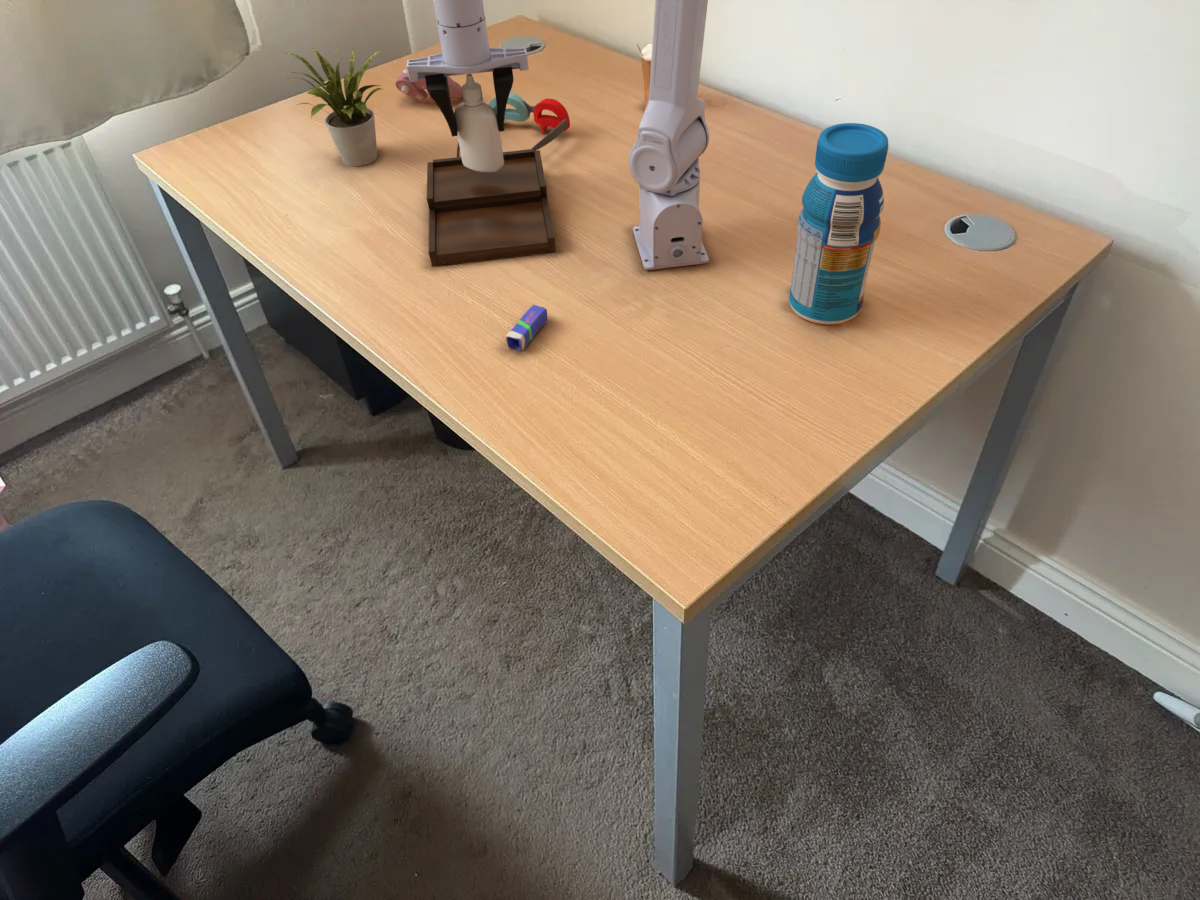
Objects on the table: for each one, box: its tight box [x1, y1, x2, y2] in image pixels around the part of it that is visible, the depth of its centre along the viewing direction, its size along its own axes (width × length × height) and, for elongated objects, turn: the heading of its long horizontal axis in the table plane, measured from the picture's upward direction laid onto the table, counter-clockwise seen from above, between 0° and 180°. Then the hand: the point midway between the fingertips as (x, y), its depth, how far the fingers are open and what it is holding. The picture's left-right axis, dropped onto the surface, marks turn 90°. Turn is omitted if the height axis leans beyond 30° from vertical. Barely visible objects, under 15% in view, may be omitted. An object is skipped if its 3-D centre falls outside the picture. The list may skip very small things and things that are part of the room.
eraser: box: [505, 304, 548, 352], centre depth 95 cm, size 2×6×2 cm, turn 153°
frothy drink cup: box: [636, 43, 653, 108], centre depth 130 cm, size 5×5×10 cm
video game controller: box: [395, 68, 463, 104], centre depth 137 cm, size 10×5×7 cm
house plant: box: [282, 44, 384, 167], centre depth 121 cm, size 14×14×16 cm
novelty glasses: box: [456, 91, 571, 157], centre depth 125 cm, size 14×15×5 cm
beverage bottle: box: [788, 122, 889, 325], centre depth 89 cm, size 8×8×20 cm
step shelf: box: [426, 148, 557, 267], centre depth 112 cm, size 20×16×4 cm
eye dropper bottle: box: [453, 74, 504, 172], centre depth 108 cm, size 4×6×12 cm
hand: (478, 130), depth 109 cm, fingers closed on eye dropper bottle, 5 cm apart
